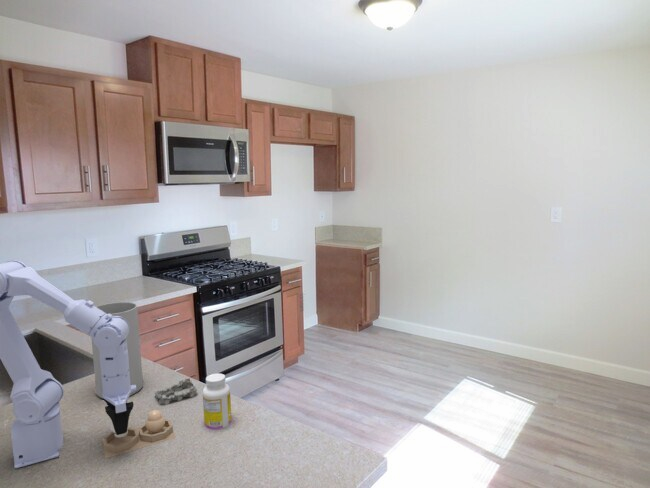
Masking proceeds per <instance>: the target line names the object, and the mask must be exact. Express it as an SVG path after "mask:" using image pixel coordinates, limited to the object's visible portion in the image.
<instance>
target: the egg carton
mask: <svg viewBox="0 0 650 488" xmlns="http://www.w3.org/2000/svg"><path fill="white" fill-rule="evenodd" d="M184 389H189V391H185V393H184V392H182V391H183V390H184ZM198 391H199V390H198V389H197V388H196V386H194V383H193V382H192V379H191V378H190V377H189V378H184V379H182V380H180V381H179V382H178V383H176V384H173V385H172V386H169V387H165V388H163V389H161V390H157V391H154V395H155V399H156V400H158V403H159V405H165V406H166V405H169V404H170V403H171V402H173V401H178V402H180V401H182V400H183V399H184V398H193V397H195V395H197V392H198ZM175 392H182V393H181V394H176V393H175ZM163 396H165V397H163Z"/></svg>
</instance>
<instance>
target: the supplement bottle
mask: <svg viewBox="0 0 650 488" xmlns="http://www.w3.org/2000/svg"><path fill="white" fill-rule="evenodd" d="M205 384H206V386H204V388H203V390H202V405H203V420H204V421H203V423H204V426H205V428H207V429H209V430H220V429H224V428H226V427H228V426H230V425H231V423H232V420H233V419H232V401H231V388H230V386H229V384H227V383H226V375H225V374H223V373H211V374H209V375H207V376H206V377H205Z"/></svg>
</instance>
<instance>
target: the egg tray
mask: <svg viewBox="0 0 650 488" xmlns="http://www.w3.org/2000/svg"><path fill="white" fill-rule="evenodd" d="M173 427H174V426H173V424H172V421H171V419H166V418H165V425H164V427H163V429H162V432H160V433H157V434H153V435H150V432H149V431H148V430H147V429H146V425H145V423H144V424H143V425H141V426H140V427H138V428H132V427H130V428H129V429H128V434H127V435H126V436H124V437H122V438H116V437H115V435H114V433H113V432H112V431H111V432H109V433H108V434H107V435H106V436H104V437H102V438H101V439H102V445H103V452H104V459H108V458H112V457H115V456H118V455H119V456H120V455H122V454H125V453H128V452H132V451H135V450H140V449H143V448H146V447H149V446H152V445H156V444H161V443H163V442H166V441H169V440H173V439H176V438H177V437H176V434H175V432H174V428H173Z"/></svg>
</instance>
